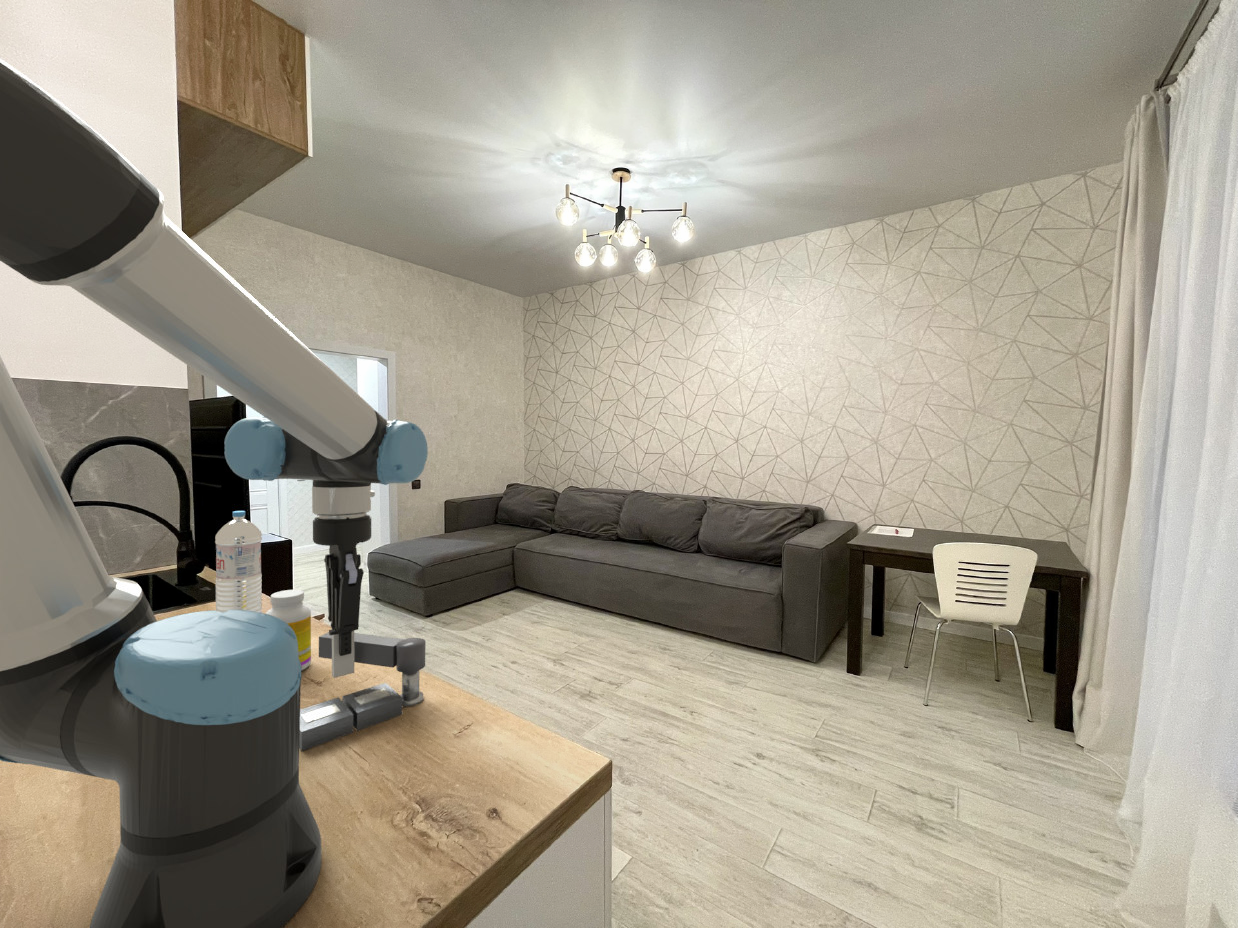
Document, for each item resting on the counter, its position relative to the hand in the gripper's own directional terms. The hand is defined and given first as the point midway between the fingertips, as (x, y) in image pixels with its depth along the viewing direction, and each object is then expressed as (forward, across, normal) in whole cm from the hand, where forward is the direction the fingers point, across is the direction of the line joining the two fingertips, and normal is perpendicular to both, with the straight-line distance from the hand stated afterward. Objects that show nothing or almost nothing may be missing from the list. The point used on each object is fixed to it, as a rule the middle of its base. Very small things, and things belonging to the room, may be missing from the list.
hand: (343, 673), depth 74 cm
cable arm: (-1, 0, -4) cm, 4 cm away
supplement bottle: (+4, +18, +5) cm, 19 cm away
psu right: (+5, -6, -2) cm, 8 cm away
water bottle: (+4, +34, +10) cm, 36 cm away
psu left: (+5, -6, +4) cm, 9 cm away
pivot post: (+5, -5, -8) cm, 11 cm away
